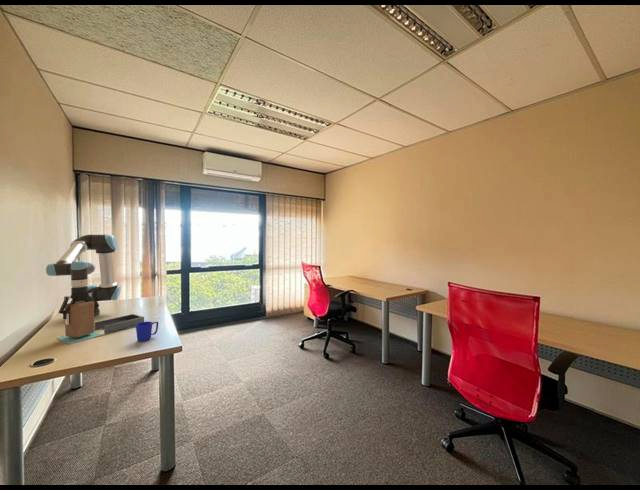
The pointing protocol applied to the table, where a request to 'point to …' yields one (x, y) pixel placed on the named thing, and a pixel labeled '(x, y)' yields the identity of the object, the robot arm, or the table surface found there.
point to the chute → (118, 323)
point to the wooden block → (80, 319)
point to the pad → (73, 339)
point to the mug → (145, 330)
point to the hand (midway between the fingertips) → (80, 321)
